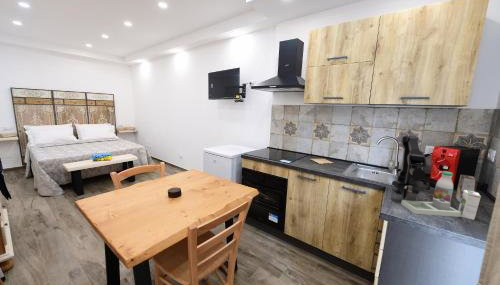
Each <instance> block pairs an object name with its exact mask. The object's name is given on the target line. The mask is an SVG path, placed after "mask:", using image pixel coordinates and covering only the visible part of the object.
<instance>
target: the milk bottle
mask: <svg viewBox="0 0 500 285" xmlns="http://www.w3.org/2000/svg"><path fill="white" fill-rule="evenodd" d="M453 176H454V173H453V172H450V171H447V170H443V171H442V172H441V177H440V178H438V180H437V181H436V184H435V186H434V192H433V197H432V200H433V199H444V200H445V201H447V202H449V203H451V200H452V196H453V192H454V183H453V180H452V177H453Z"/></svg>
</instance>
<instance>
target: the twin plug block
mask: <svg viewBox="0 0 500 285" xmlns="http://www.w3.org/2000/svg"><path fill="white" fill-rule="evenodd" d="M432 202H433V203H432V206H433V207H434V208H436V209H438V210H446V211H449V209H450V207H451V204H452V203H451V202H450V203H449V202H447V201H445V200H444V199H433V198H432Z"/></svg>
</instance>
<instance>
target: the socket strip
mask: <svg viewBox="0 0 500 285" xmlns="http://www.w3.org/2000/svg"><path fill="white" fill-rule="evenodd" d="M432 203H433V201H421V200H420V201H419V200H416V201H408V200H402V199H401V202H400V205H402V206H403V207H405V209H407V210H409V211H411V212H412V213H413V214H415V215H416V214H417V215H427V216H438V217H439V216H440V217H442V216H443V217H455V218H456V217H458V218H460V217H461V216H460V215H461V212H459V211H458V209H456V208H454V207H451V206H450V209H449V211H446V210H438V209H436V208H434V207H433V206H432Z"/></svg>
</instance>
